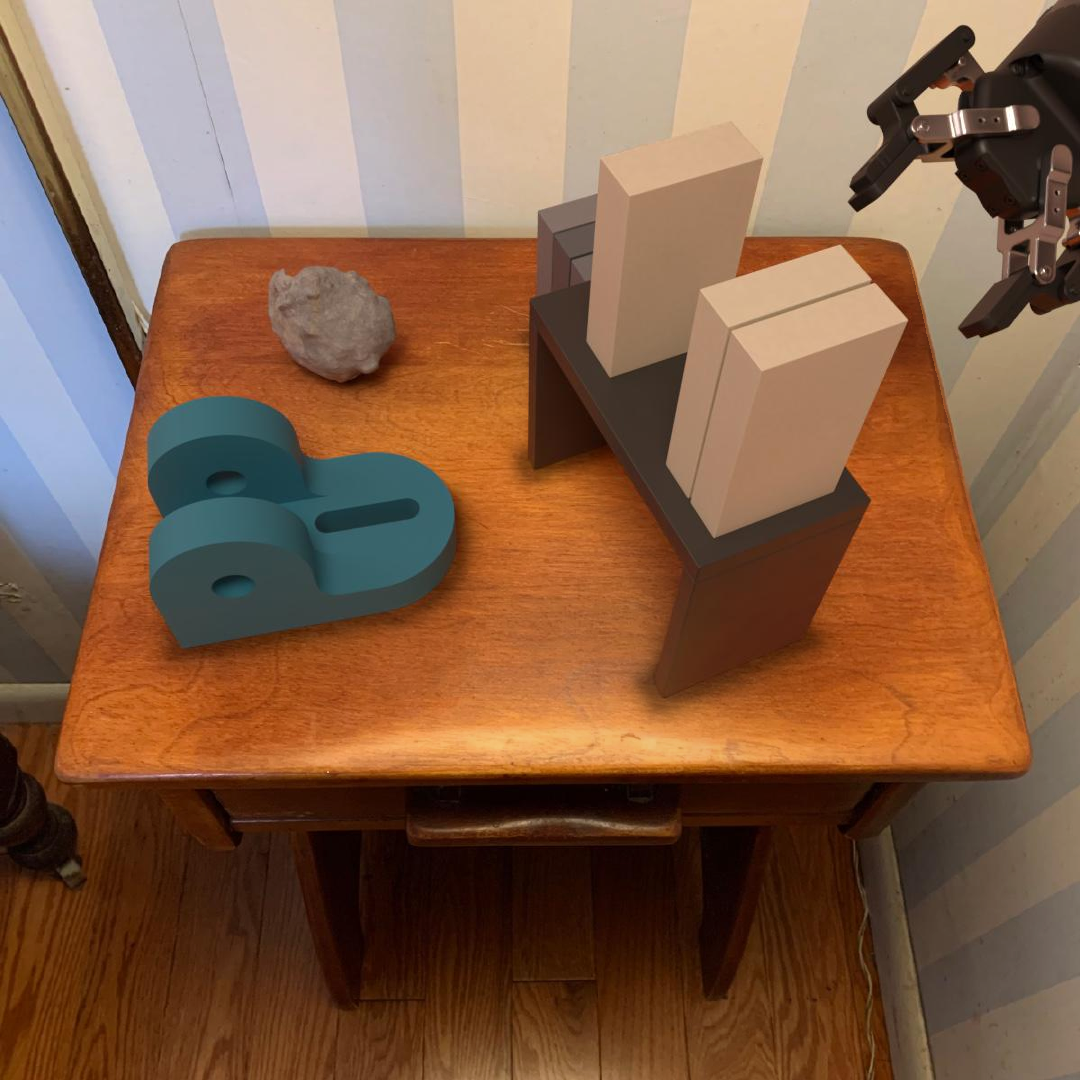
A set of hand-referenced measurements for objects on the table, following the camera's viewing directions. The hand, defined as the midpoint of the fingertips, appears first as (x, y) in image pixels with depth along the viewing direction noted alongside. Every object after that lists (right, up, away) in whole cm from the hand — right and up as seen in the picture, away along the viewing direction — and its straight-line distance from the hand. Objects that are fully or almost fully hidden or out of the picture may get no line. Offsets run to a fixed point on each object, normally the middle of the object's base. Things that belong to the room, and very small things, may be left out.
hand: (918, 267), depth 50 cm
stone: (-33, -1, +26) cm, 42 cm away
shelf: (-11, -14, +18) cm, 25 cm away
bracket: (-33, -14, +17) cm, 40 cm away
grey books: (-14, 0, +27) cm, 30 cm away
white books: (-8, -10, +2) cm, 13 cm away
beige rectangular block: (-12, -2, +7) cm, 14 cm away
